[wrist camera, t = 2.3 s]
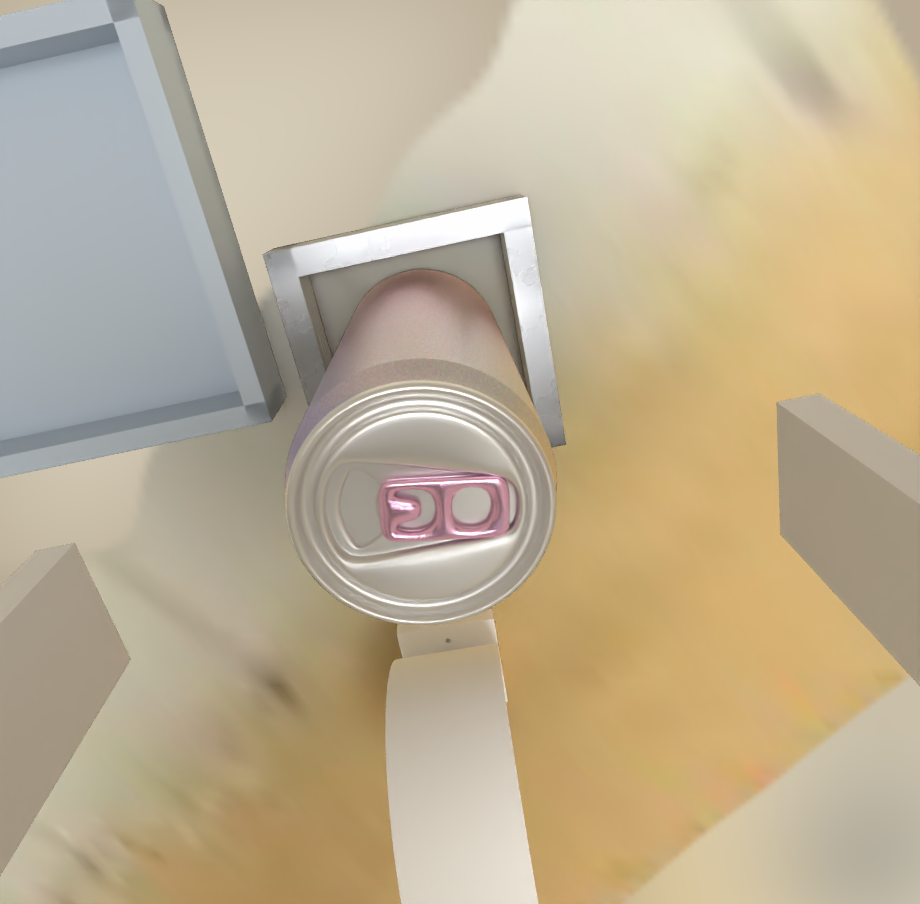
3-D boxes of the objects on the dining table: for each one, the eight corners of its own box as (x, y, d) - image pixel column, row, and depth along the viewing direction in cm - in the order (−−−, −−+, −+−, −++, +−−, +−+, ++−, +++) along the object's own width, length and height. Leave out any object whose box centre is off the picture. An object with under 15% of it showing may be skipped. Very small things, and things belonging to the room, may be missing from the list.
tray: (-85, 474, 29) (-138, 507, 27) (-286, 110, 24) (-379, 104, 21) (286, 396, 29) (271, 421, 26) (164, 6, 24) (128, -15, 21)
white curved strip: (415, 704, 35) (410, 952, 24) (392, 604, 33) (375, 828, 22) (506, 690, 35) (543, 933, 24) (489, 589, 33) (522, 806, 22)
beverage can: (498, 409, 30) (562, 627, 16) (356, 416, 29) (293, 641, 15) (496, 263, 27) (570, 367, 13) (342, 269, 27) (255, 380, 13)
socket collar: (340, 471, 30) (334, 492, 28) (273, 248, 27) (262, 254, 25) (557, 427, 30) (566, 444, 28) (520, 194, 26) (526, 196, 24)
